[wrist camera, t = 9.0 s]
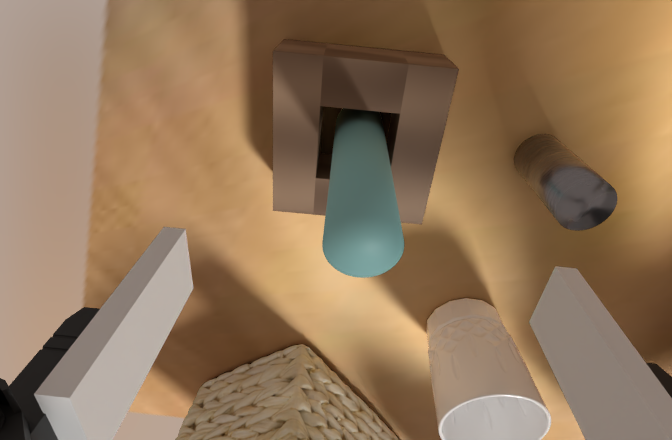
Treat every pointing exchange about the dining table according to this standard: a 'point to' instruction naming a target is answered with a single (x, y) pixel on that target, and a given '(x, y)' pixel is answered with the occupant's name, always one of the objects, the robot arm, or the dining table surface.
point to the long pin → (361, 199)
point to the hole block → (362, 94)
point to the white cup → (481, 377)
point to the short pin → (565, 183)
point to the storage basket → (281, 403)
